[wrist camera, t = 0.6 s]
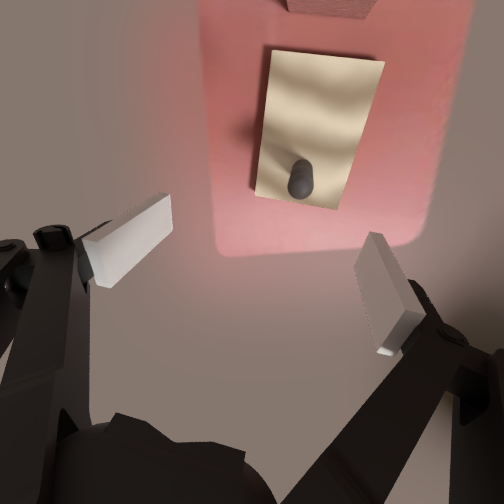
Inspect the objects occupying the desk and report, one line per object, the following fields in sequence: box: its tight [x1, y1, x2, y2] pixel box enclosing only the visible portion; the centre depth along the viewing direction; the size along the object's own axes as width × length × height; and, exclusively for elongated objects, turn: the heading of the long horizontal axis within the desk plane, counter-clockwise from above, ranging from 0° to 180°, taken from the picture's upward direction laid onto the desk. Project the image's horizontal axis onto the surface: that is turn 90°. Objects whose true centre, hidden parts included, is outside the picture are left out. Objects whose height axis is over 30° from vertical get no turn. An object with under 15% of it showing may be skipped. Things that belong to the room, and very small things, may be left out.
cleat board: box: [255, 50, 385, 210], centre depth 29 cm, size 18×13×12 cm
